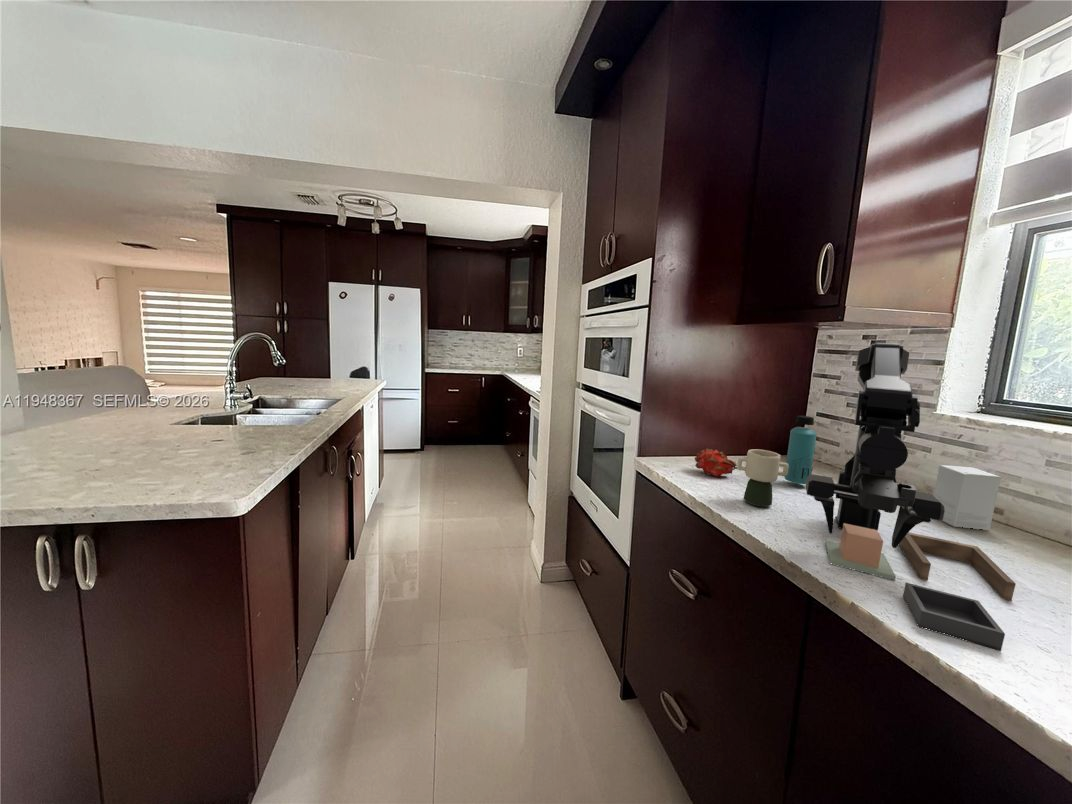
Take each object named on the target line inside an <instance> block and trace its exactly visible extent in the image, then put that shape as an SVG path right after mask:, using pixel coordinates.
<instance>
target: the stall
mask: <svg viewBox="0 0 1072 804" xmlns="http://www.w3.org/2000/svg"><path fill="white" fill-rule="evenodd" d="M898 546H899V548H900V549H901V550H902V553H903V554H904V556H905V558H906V559H907V561H908V562H909V564H910V566H911V567H912V568H913V570H914V571H915V573H916V574H917V576H918V578H919V577H920V578H921V579H920V578H919V579H920V580H924V579H925V580H924V581H928V580H929V576H930V570H931V565H932V564H931V562H930V561H929V559H928V558H927V556H926V555H925V554H930V555H934V556H938V557H942V556H943V558H947V559H951V558H952V560H956V561H960V562H965V563H970V565H971V566H972V567H973V568H974V570H976V572H977V573H979V575H980V576H981V577H982V578H983V579H984V580H985V581H986V583H987V584H988V585H990V587H991V588H992V589H993V591H995V592H996V593H997V594H998V595H999V596H1000V598H1001V599H1003V600H1007V601H1011V602H1012V601H1013V597H1014V592H1015V590H1016V589H1015V588H1016V584H1017V583H1016V582H1015V581H1014V580H1013V579H1012V578H1011V577H1010V576H1009V575H1008V574H1007V573H1005V572H1004V571H1003V569H1001V568H1000V567H999V566H998V565H997V564H996V563H995V562H994V561H993V560H992V559H991V558H990V557H989V556H988V555H987V554H986V553H985V552H984V551H983V550H982V549H981V548H980V547H979V546H977V545H971V544H967V543H964V542H963V543H961V542H958V541H954V540H953V541H952V540H949V539H942V538H937V537H934V536H928V535H924V534H919V533H915V532H910V531H909V532H908V533H907V535H906V536H905V537H904V538H903V540H902V541H901V542H900V544H899V545H898ZM924 553H925V554H924Z"/></svg>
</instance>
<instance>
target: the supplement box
mask: <svg viewBox="0 0 1072 804" xmlns="http://www.w3.org/2000/svg"><path fill="white" fill-rule="evenodd" d="M937 470H938V471H937V476H936V481H935V487H934V493H933V496H934V497H935V498H936V499H937V500H938V501H940V502H941V503H942V504H943V505H944V509H945V512H944V516H943V520H941V521H942V522H944V523H946V524H948V525H949V526H951V527H954V528H955V527H956V528H962V527H963V529H970V528H973V529H972V530H979V529H983V530H982V531H990V529H991V527H992V520H993V517H994V516H993V515H994V511H995V507H996V502H997V497H998V493H999V489H1000V483H1001V479H1002V476H1000V475H996V474H993V473H990V472H988V471H984V470H982V469H978V468H976V467H969V466H959V465H947V464H946V465H945V464H939V466H938V469H937Z"/></svg>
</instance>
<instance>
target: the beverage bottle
mask: <svg viewBox="0 0 1072 804" xmlns="http://www.w3.org/2000/svg"><path fill="white" fill-rule="evenodd" d="M814 422H815V419H814V417H813V416H808V415H798V416H797V417H796V420H795V423H796V424H798V425H804V426H805V427H802V426H796V427H794V428H791V430H790V431H789V432H790V433H789V434H790V435H789V441H788V447H787V448H788V449H787V453H786V458H785V459H786V460H785V461H786V462H785V463H787V464H788V473H787V476H783V478H784V479H785V480H786V481H787V482H791V483H794V484H799V485H806V479H807V476H809V475H810V474H813V473H812V472H813V463H814V456H815V451H816V443H817V441H816V439H817V435H818V434H817V432H816V431H815V430H814V429H813V428H809V427H806V426H814V424H815V423H814Z"/></svg>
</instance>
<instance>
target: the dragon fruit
mask: <svg viewBox="0 0 1072 804" xmlns="http://www.w3.org/2000/svg"><path fill="white" fill-rule="evenodd" d="M694 461H695V462H696V463H695V465H694V466H695V468H697V469H699V470H700V469H702V471H703V473H706V476H714V477H718V478H719V479H726V478H727V476H726V475H728V474H731V475H732V474H733V471H734V470H738V469H737V463H736V462H735V461H734V460H731V459H729V458H728V456H727V455H726V454H725V453H724V452H723V451H719V450H717V449H715V450H714V449H713V448H711V449H709V448H705V449H703V450H701V451H700V452H697V454H696V456H695V457H694Z"/></svg>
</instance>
